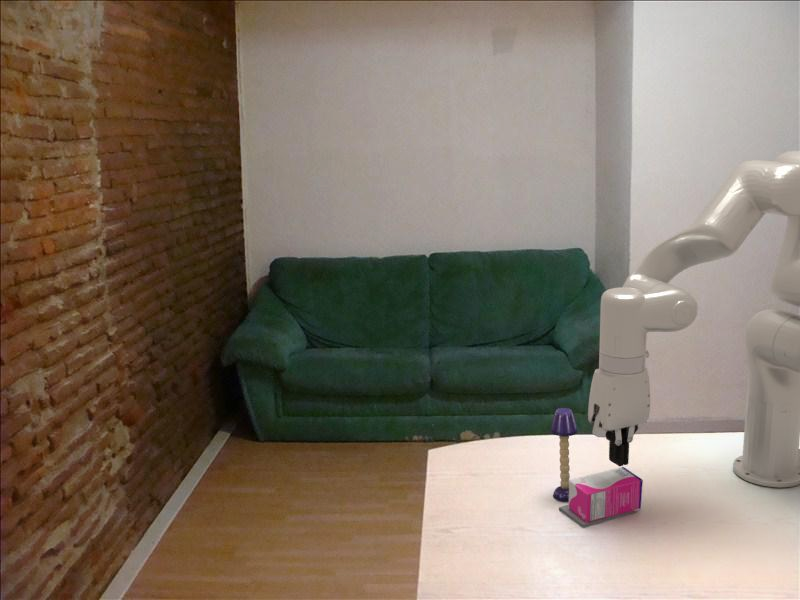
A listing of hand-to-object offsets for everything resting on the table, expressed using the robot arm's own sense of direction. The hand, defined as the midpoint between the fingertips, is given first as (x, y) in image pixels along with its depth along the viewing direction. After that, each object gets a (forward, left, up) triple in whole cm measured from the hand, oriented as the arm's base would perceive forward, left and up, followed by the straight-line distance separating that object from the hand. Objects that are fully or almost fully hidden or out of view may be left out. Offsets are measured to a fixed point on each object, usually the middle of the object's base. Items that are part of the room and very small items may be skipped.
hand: (618, 462), depth 150 cm
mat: (+3, -1, -9) cm, 10 cm away
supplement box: (-4, 0, -6) cm, 7 cm away
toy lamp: (+5, -9, -9) cm, 14 cm away
